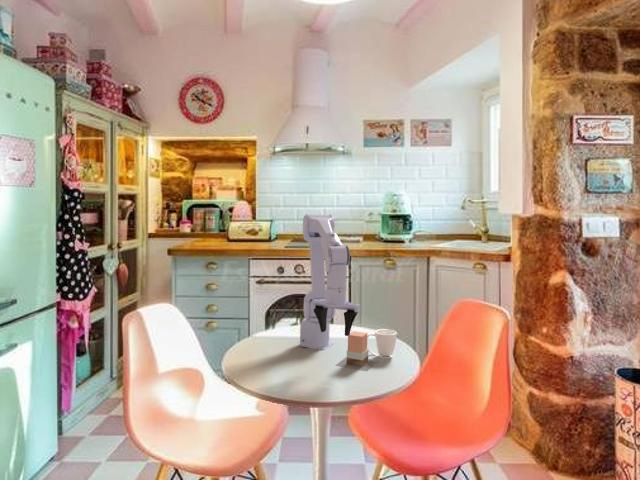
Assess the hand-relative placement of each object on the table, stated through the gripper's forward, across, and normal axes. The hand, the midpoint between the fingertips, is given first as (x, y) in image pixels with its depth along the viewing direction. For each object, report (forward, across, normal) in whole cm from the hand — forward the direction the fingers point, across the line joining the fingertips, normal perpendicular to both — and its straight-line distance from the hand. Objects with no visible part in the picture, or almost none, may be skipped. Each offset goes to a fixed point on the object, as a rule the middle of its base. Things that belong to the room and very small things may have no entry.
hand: (335, 333), depth 139 cm
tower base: (+10, +5, +6) cm, 13 cm away
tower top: (+8, +5, +6) cm, 11 cm away
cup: (+11, +9, +16) cm, 21 cm away
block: (+6, +5, +6) cm, 10 cm away
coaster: (+10, +5, +6) cm, 13 cm away
